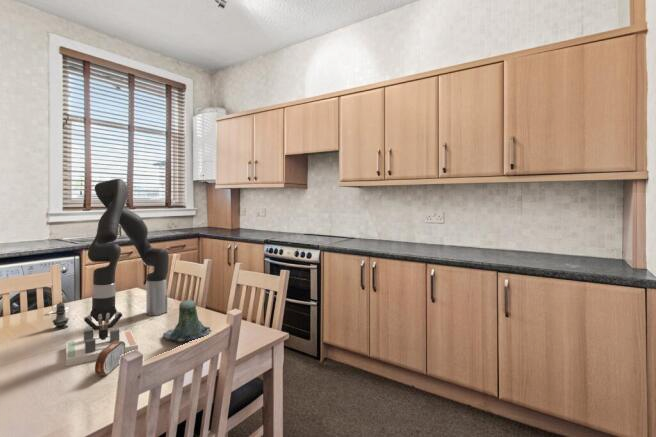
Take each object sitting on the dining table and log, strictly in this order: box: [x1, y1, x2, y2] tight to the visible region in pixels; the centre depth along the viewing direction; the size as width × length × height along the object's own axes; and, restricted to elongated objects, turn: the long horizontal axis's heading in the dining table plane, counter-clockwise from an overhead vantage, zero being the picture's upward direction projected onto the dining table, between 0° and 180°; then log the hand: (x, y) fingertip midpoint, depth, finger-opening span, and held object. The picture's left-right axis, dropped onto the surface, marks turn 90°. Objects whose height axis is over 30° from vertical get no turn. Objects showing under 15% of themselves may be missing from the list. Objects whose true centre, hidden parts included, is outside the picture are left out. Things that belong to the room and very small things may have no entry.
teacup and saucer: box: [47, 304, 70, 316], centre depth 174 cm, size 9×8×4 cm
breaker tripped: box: [109, 328, 120, 342], centre depth 136 cm, size 3×2×4 cm
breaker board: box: [65, 329, 139, 367], centre depth 133 cm, size 22×18×3 cm
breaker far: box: [83, 327, 94, 342], centre depth 136 cm, size 3×2×4 cm
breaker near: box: [85, 338, 95, 353], centre depth 126 cm, size 3×2×4 cm
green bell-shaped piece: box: [162, 299, 212, 345], centre depth 147 cm, size 19×21×19 cm
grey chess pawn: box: [52, 301, 70, 331], centre depth 154 cm, size 6×6×12 cm
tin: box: [94, 341, 126, 376], centre depth 119 cm, size 15×3×8 cm, turn 5°
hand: (103, 339), depth 134 cm, fingers closed
